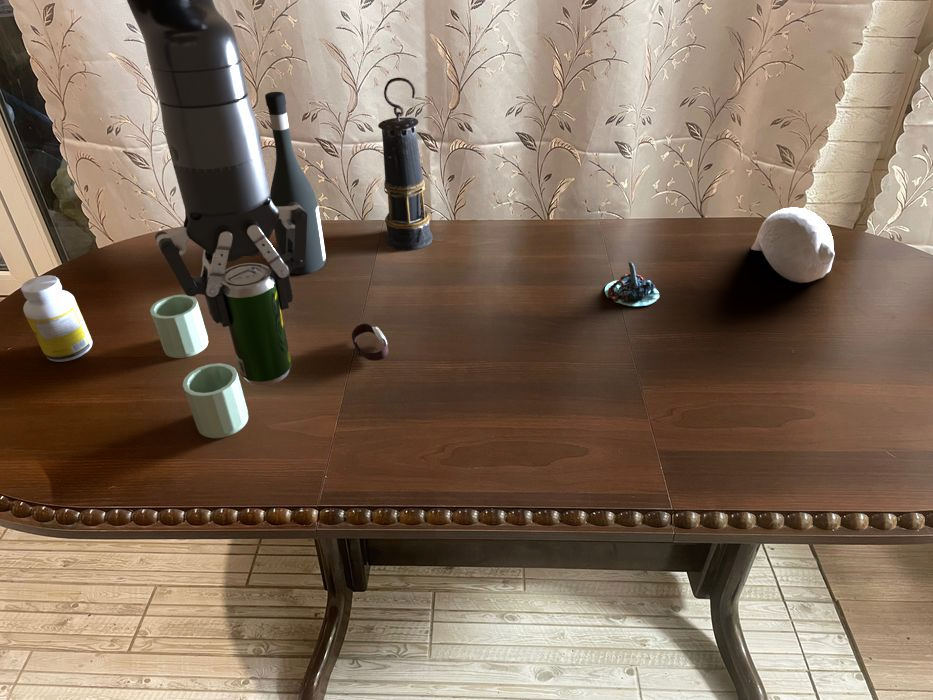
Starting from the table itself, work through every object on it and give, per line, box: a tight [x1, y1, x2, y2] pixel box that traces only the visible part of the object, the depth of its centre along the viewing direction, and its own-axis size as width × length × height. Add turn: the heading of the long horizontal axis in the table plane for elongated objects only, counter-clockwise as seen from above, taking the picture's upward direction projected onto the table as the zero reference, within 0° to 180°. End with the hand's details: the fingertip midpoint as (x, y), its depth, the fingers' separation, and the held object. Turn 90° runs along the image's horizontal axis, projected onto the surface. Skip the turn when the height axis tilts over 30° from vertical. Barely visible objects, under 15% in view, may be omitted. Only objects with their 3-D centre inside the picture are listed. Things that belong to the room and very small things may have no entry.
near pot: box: [182, 362, 249, 439], centre depth 83 cm, size 6×6×7 cm
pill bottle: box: [20, 275, 93, 363], centre depth 94 cm, size 6×6×12 cm
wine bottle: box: [264, 91, 327, 275], centre depth 109 cm, size 8×8×30 cm
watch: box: [351, 323, 389, 362], centre depth 96 cm, size 8×5×4 cm, turn 33°
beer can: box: [220, 262, 292, 386], centre depth 67 cm, size 5×5×12 cm
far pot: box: [149, 294, 209, 359], centre depth 96 cm, size 6×6×7 cm
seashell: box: [750, 207, 835, 284], centre depth 115 cm, size 15×14×15 cm
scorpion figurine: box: [604, 260, 660, 307], centre depth 109 cm, size 8×7×8 cm
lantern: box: [377, 77, 434, 251], centre depth 118 cm, size 9×9×30 cm
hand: (253, 313), depth 67 cm, fingers closed on beer can, 5 cm apart
